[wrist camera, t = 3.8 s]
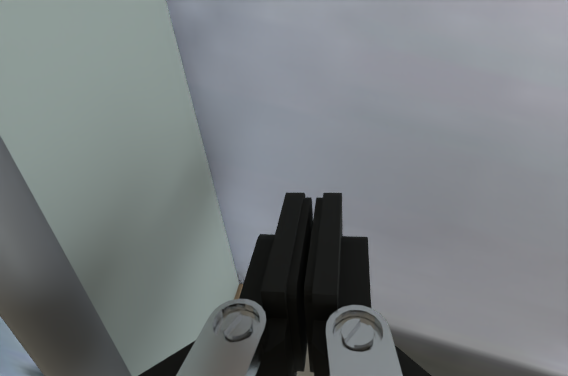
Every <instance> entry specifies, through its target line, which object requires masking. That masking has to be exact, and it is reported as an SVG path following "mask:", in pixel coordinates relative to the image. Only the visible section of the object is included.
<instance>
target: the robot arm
mask: <svg viewBox="0 0 568 376" xmlns="http://www.w3.org/2000/svg"><path fill="white" fill-rule="evenodd" d="M307 344H308V355H309V366H310V372H313V373H314V376H431V375H430V374H429V373H427V372H426V371H425V370H424V369H423V368H421V367H420V366H419V365H418V364H417V363H415V362H414V361H413V360H412V359H411V358H409V357H408V356H407V355H406V354H405V353H404V352H402V351H401V350H400V349H399V348H398V347H396V346H395V345H394V342H393V338H392V335H391V331H390V327H389V325H388V323H387V321H386V319H385V318H384V317H383V316H382V315H381V314H380V313H379V312H377V311H375V310H374V309H372V308H371V298H370V276H369V255H368V238H367V237H346V236H342V193H324V194H323V198H316V205H315V212H314V219H313V213H312V199H311V198H305V194H304V193H286V195H285V199H284V202H283V206H282V210H281V214H280V218H279V222H278V226H277V229H276V233H275V235H267V234H260V235H259V237H258V239H257V242H256V246H255V249H254V252H253V255H252V258H251V262H250V265H249V268H248V271H247V274H246V278H245V281H244V284H243V287H242V290H241V294H240V297H239V299H235V300H230V301H227V302H225V303H223V304H221V305H220V306H218V307H217V308H216V309H215V310H214V311H213V312H212V313H211V315H210V316H209V318H208V319H207V321H206V323H205V325H204V327H203V328H202V330H201V332H200V334H199V336H198V337H197V339H196V340H195V341H194V342H192V343H190V344H189V345H187V346H185V347H184V348H182V349H181V350H179V351H177V352H176V353H174V354H172V355H171V356H169V357H167V358H166V359H164V360H163V361H161V362H159V363H158V364H156V365H154V366H153V367H151V368H150V369H148V370H146V371H145V372H143V373H141V374H140V375H138V376H297V371H301V372H304V370H305V362H306V353H307Z"/></svg>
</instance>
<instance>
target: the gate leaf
mask: <svg viewBox="0 0 568 376" xmlns="http://www.w3.org/2000/svg"><path fill="white" fill-rule="evenodd" d="M242 287H243V284H239V281H238V277H237V273H236V269H235V265H234V261H233V258H232V254H231V250H230V246H229V242H228V238H227V234H226V231H225V227H224V223H223V219H222V215H221V211H220V207H219V204H218V200H217V196H216V192H215V188H214V184H213V180H212V176H211V173H210V169H209V165H208V161H207V157H206V153H205V149H204V146H203V142H202V138H201V134H200V130H199V126H198V122H197V119H196V115H195V111H194V107H193V103H192V99H191V95H190V92H189V88H188V84H187V80H186V76H185V72H184V68H183V64H182V61H181V57H180V53H179V49H178V45H177V41H176V37H175V34H174V30H173V26H172V22H171V18H170V14H169V10H168V7H167V3H166V0H0V316H1V317H2V319H3V320H4V322H5V323H6V324H7V326H8V327H9V328H10V330H11V331H12V332H13V334H14V335H15V336H16V338H17V339H18V340H19V342H20V343H21V345H22V346H23V347H24V349H25V350H26V351H27V353H28V354H29V355H30V357H31V358H32V359H33V361H34V362H35V364H36V365H37V366H38V368H39V369H40V370H41V372H42V373H43V374H44V376H138V375H140V374H141V373H143V372H145V371H146V370H148V369H150V368H151V367H153V366H154V365H156V364H158V363H159V362H161V361H163V360H164V359H166V358H167V357H169V356H171V355H172V354H174V353H176V352H177V351H179V350H181V349H182V348H184V347H185V346H187V345H189V344H190V343H192V342H194V341H195V340H196V339H197V337H198V336H199V334H200V332H201V330H202V328H203V327H204V325H205V323H206V321H207V319H208V318H209V316H210V315H211V313H212V312H213V311H214V310H215V309H216V308H217V307H218V306H220V305H221V304H223V303H225V302H227V301H230V300H235V299H239V297H240V294H241V290H242Z"/></svg>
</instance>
